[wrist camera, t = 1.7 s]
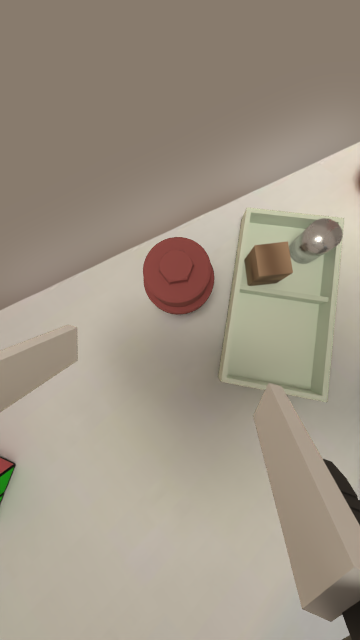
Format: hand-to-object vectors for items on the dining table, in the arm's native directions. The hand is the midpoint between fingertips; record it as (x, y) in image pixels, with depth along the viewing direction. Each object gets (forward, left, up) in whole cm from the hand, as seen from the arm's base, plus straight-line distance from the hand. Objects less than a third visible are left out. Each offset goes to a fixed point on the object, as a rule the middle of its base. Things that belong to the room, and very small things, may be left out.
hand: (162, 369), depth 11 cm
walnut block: (-12, -16, -19) cm, 28 cm away
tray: (-15, -11, -19) cm, 27 cm away
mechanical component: (+2, -10, -20) cm, 22 cm away
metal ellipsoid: (-19, -21, -19) cm, 34 cm away
